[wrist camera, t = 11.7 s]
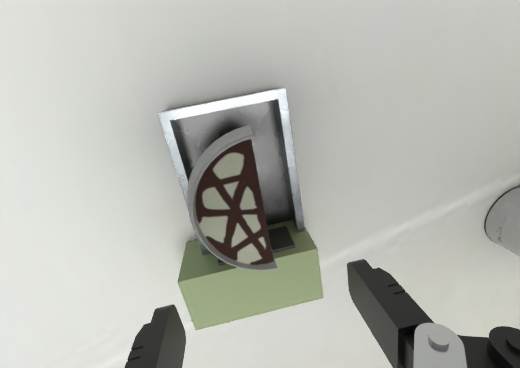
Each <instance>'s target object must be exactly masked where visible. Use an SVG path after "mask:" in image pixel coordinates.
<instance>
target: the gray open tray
mask: <svg viewBox="0 0 520 368" xmlns="http://www.w3.org/2000/svg"><path fill="white" fill-rule="evenodd" d="M158 116H159V119H160V122H161V125H162V128H163V131H164V135H165V138H166V141H167V144H168V147H169V150H170V153H171V157H172V160H173V163H174V166H175V169H176V172H177V176H178V179H179V182H180V185H181V188H182V191H183V195H184V198H185V201H186V204H187V188H188V182H189V179H190V176H191V173H192V170H193V168H194V166H195V164H196V162H197V160H198V159H199V158H200V156H201V155H202V154H203V152H204V151H205V150H206V149H207V148H208V147H209V146H210V145H211V144H212V143H213V142H214V141H216V140H217V139H219V138H220V137H222V136H223V135H225V134H226V133H229V132H231V131H233V130H235V129H237V128H241V127H244V126H247V125H250V128H251V130H252V134H253V136H254V138H252V139H251V141H252V146H253V151H254V156H255V161H256V167H257V172H258V178H259V184H260V190H261V195H262V200H263V205H264V211H265V217H266V222H267V226H268V225H272V224H277V223H281V222H285V221H290V220H292V222H293V224H294V226H295V228H296V230H297V232H298V233H299V232H303V231H305V227H304V220H303V213H302V205H301V198H300V191H299V183H298V176H297V169H296V162H295V154H294V147H293V140H292V132H291V125H290V118H289V110H288V103H287V96H286V88H275V89H270V90H265V91H260V92H255V93H250V94H245V95H240V96H235V97H230V98H225V99H220V100H215V101H210V102H205V103H200V104H195V105H190V106H185V107H180V108H174V109H169V110H165V111H162V112H160V113H158ZM187 207H188V206H187ZM196 236H197V234H196ZM197 239H198V242H199V245H200V248H201V251H202V254H203V255H206V254H210V251H209V250H208V249H207V248H206V246H205V245H204V244H203V243H202V242H201V241H200V239H199V237H198V236H197Z"/></svg>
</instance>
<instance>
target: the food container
mask: <svg viewBox="0 0 520 368" xmlns="http://www.w3.org/2000/svg"><path fill="white" fill-rule="evenodd" d="M252 138H254V136H253V134H252V130H251V128H250V125H247V126H244V127H241V128H237V129H235V130H233V131H231V132H229V133H226V134H225V135H223V136H222V137H220V138H219V139H217V140H216V141H214V142H213V143H212V144H211V145H210V146H209V147H208V148H207V149H206V150H205V151H204V152H203V154H202V155H201V156H200V158H199V159H198V160H197V162H196V164H195V166H194V168H193V170H192V173H191V176H190V179H189V182H188V188H187V206H188V210H189V215H190V219H191V223H192V225H193V228H194V230H195V233H196V234H197V236H198V237H199V239H200V241H201V242H202V243H203V244H204V245H205V246H206V248H207V249H208V250H209V251H210V252H211V253H212V254H214V255H215V256H216V257H217V258H219V259H220V260H222V261H224V262H225V263H227V264H230V265H232V266H235V267H237V268H242V269H246V270H254V271H266V270H274V269H277V265H276V262H275V258H274V255H273V251H272V248H271V244H270V238H269V233H268V228H267V222H266V217H265V211H264V205H263V200H262V195H261V190H260V184H259V178H258V172H257V167H256V161H255V156H254V151H253V146H252V141H251V139H252Z"/></svg>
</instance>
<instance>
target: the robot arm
mask: <svg viewBox="0 0 520 368" xmlns="http://www.w3.org/2000/svg"><path fill="white" fill-rule="evenodd" d="M486 233H487V235H488V237H489V238H490V239H491V240H492V241H494V242H495V243H497V244H499V245H501V246H502V247H504V248H506V249H508V250H510V251H511V252H513V253H515V254H517V255H518V256H520V187H517V188H515V189H513V190H511V191H509V192H508V193H506V194H505V195H503V196H502V197H501V198H500V199H499V200H498V201H497V202H496V203H495V204H494V206H493V207H492V209H491V210H490V212H489V214H488V217H487V220H486ZM347 271H348V284H349V292H350V295H351V298H352V300H353V302H354V304H355V306H356V307H357V309H358V311H359V312H360V314H361V316H362V317H363V319H364V320H365V322H366V324H367V325H368V327H369V329H370V330H371V332H372V334H373V335H374V337H375V339H376V340H377V342H378V343H379V345H380V347H381V348H382V350H383V352H384V353H385V355H386V357H387V358H388V360H389V362H390V363H391V365H392V367H393V368H520V330H519V329H516V328H512V327H505V326H501V327H496V328H494V329H492V330H491V331H490V333H489V338H486V337H470V336H460V335H457V334H455V333H454V332H453V331H452V330H450V329H449V328H447V327H445V326H443V325H440V324H436V323H434V322H433V321H432V320H431V319H430V318H429V317H428V316H427V314H426V313H425V312H424V311H423V310H422V309H421V308H420V307H419V306H418V304H417V303H416V302H415V301H414V300H413V299H412V298H411V297H410V296H409V294H408V293H407V292H405V290H404V289H403V288H402V287H401V286H400V285H399V284H398V282H397V281H396V280H395V279H394V278H393V277H392V276H391V274H389V273H387V272H386V271H384V270H382V269H380V268H376V269H373V268H372V267H371V266H370V265H369V264H368V262H367V261H366V260H364V259H362V260H358V261H353V262H349V263H348V264H347ZM185 344H186V336H185V330H184V327H183V324H182V322H181V319H180V317H179V314H178V312H177V309H176V307H175V305H169V306H165V307H161V308H157V309H155V311H154V314H153V317H152V320H151V323H148V324H144V326H143V327H142V329H141V330H140V331H139V333H138V334H137V335H136V337H135V340H134V343H133V346H132V348H131V349H132V351H130V354H129V357H128V362H127V363H126V365H125V368H182V365H183V358H184V351H185Z"/></svg>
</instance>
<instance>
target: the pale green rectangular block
mask: <svg viewBox="0 0 520 368" xmlns="http://www.w3.org/2000/svg"><path fill="white" fill-rule="evenodd" d="M267 228H268V233H269V238H270V244H271V248H272V251H273V255H274V258H275V262H276V265H277V269H274V270H266V271H254V270H246V269H242V268H237V267H235V266H232V265H230V264H227V263H225V262H224V261H222V260H220V259H219V258H217V257H216V256H215V255H214V254H212V253H211V252H210V254H206V255H203V254H202V251H201V248H200V245H199V242H198V240H194V241H190V242H187V243H186V248H185V252H184V257H183V261H182V265H181V270H180V274H179V279H178V284H179V287H180V290H181V292H182V295H183V298H184V300H185V303H186V306H187V308H188V311H189V314H190V316H191V319H192V322H193V324H194V327H195V330H199V329H203V328H207V327H211V326H215V325H219V324H223V323H226V322H230V321H234V320H238V319H242V318H246V317H250V316H254V315H258V314H262V313H266V312H270V311H274V310H278V309H281V308H285V307H289V306H293V305H297V304H301V303H305V302H309V301H313V300H317V299H321V298H323V291H322V283H321V274H320V266H319V258H318V249H317V247H316V245H315V244H314V242H313V240H312V239H311V237H310V235H309V234H308V232H307V230H306V229H305V231H303V232H299V233H298V232H297V230H296V228H295V226H294V224H293V222H292V220H290V221H285V222H281V223H277V224H272V225H268V226H267Z"/></svg>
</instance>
